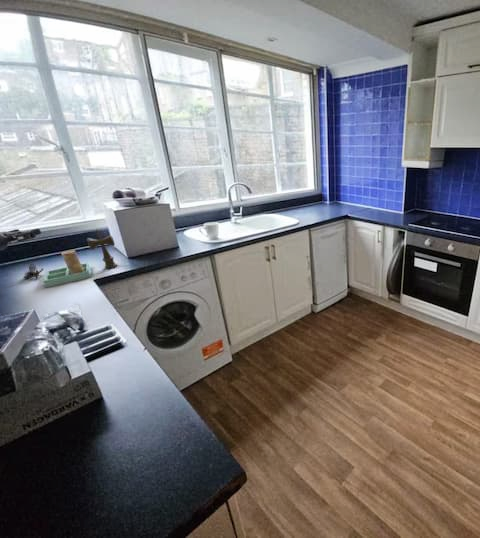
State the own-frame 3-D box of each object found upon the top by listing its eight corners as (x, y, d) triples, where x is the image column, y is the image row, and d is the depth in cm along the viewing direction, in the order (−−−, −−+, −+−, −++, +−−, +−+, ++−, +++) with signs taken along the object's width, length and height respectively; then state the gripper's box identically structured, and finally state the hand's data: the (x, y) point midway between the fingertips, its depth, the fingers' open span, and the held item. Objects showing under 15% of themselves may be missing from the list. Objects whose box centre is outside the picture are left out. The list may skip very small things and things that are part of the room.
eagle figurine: (51, 272, 144) (41, 267, 147) (36, 264, 138) (25, 259, 140) (37, 285, 140) (27, 279, 143) (21, 278, 134) (10, 272, 137)
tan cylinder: (72, 278, 137) (60, 254, 132) (72, 275, 140) (61, 252, 136) (85, 275, 140) (74, 252, 135) (85, 272, 143) (75, 249, 138)
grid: (46, 287, 131) (42, 281, 130) (49, 277, 142) (46, 271, 141) (90, 277, 140) (88, 271, 139) (90, 268, 151) (88, 262, 150)
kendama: (100, 267, 151) (83, 230, 143) (123, 263, 156) (108, 226, 148) (99, 271, 146) (82, 232, 138) (123, 266, 151) (108, 229, 143)
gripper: (-31, 254, 107) (17, 240, 122) (7, 253, 107) (50, 239, 121) (-43, 234, 104) (7, 222, 119) (-4, 233, 103) (42, 221, 118)
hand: (29, 231), depth 120 cm, fingers open, 8 cm apart
